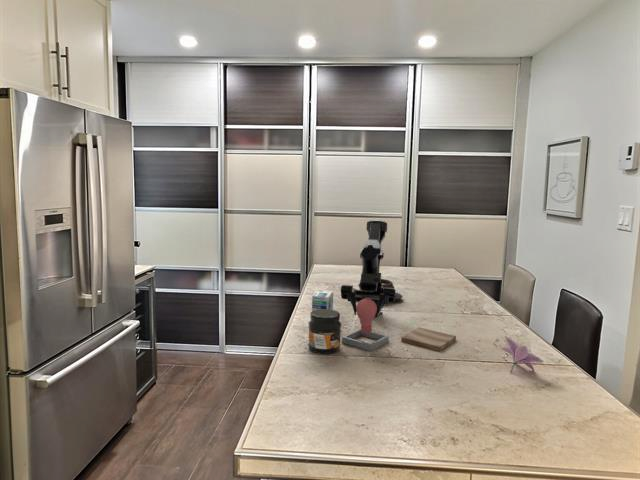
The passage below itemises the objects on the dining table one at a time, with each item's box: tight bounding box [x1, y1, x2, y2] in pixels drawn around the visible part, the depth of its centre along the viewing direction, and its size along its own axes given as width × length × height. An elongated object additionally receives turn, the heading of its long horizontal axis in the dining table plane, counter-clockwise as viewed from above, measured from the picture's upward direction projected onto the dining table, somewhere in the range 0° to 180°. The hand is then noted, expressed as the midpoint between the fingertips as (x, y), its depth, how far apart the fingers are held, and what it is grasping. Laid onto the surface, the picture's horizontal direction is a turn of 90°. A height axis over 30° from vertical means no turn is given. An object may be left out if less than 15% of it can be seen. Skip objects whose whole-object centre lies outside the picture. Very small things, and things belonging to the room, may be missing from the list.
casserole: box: [356, 278, 403, 301], centre depth 209 cm, size 25×19×8 cm
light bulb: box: [356, 298, 377, 333], centre depth 150 cm, size 7×7×12 cm
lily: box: [499, 335, 545, 373], centre depth 131 cm, size 12×12×10 cm
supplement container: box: [308, 309, 342, 355], centre depth 144 cm, size 10×10×12 cm
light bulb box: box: [311, 289, 334, 312], centre depth 174 cm, size 11×7×11 cm, turn 168°
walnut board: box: [400, 327, 457, 352], centre depth 154 cm, size 14×14×2 cm
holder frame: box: [341, 328, 390, 352], centre depth 151 cm, size 12×12×2 cm
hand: (366, 315), depth 149 cm, fingers closed on light bulb, 7 cm apart
